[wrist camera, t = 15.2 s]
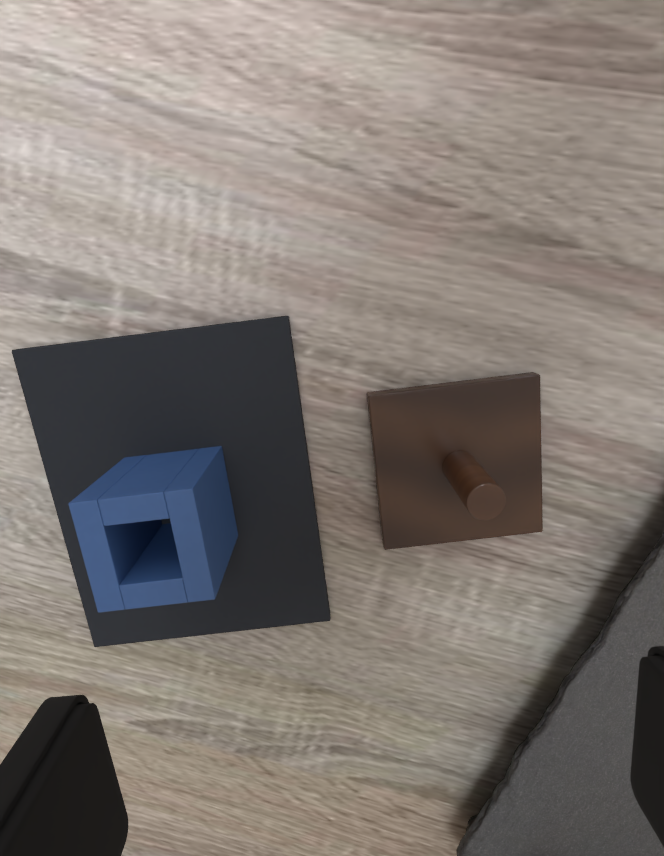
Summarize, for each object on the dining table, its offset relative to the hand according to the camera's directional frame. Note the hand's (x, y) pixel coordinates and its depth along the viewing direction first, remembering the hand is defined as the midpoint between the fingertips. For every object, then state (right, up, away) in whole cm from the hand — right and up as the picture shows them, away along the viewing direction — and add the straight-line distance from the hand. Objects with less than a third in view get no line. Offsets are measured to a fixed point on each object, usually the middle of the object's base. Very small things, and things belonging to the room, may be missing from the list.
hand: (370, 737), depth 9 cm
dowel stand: (+7, +3, +23) cm, 24 cm away
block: (-10, +1, +23) cm, 25 cm away
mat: (-10, +1, +23) cm, 25 cm away
